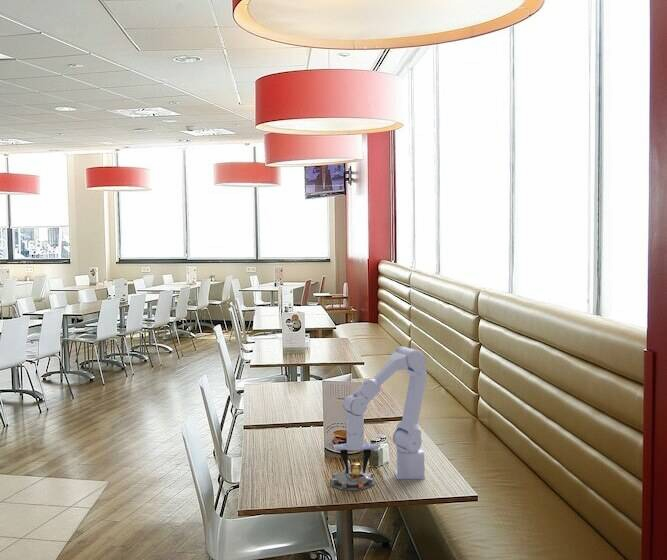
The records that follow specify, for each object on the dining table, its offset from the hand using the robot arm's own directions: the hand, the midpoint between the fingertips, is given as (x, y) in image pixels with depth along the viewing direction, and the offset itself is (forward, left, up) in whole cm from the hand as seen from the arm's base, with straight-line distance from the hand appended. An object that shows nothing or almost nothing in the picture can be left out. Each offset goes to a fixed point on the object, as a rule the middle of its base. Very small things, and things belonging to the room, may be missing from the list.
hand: (355, 472), depth 240 cm
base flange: (+1, -3, -4) cm, 5 cm away
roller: (0, 0, -2) cm, 2 cm away
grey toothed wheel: (+1, -3, -4) cm, 5 cm away
